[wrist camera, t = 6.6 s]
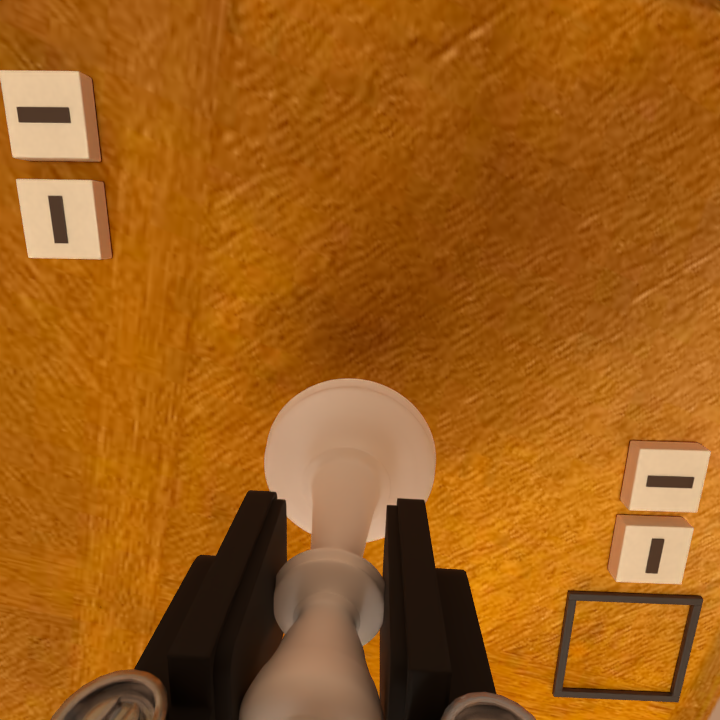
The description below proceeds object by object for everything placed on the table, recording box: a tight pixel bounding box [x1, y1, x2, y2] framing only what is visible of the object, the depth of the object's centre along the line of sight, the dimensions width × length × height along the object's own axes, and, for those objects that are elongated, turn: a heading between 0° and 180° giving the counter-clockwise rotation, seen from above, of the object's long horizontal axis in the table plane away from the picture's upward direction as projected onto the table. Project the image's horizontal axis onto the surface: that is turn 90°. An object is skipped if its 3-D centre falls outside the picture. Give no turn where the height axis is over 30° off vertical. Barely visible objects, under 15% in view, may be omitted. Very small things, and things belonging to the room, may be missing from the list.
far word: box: [553, 441, 711, 702], centre depth 31 cm, size 19×8×1 cm, turn 179°
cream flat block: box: [0, 70, 112, 259], centre depth 25 cm, size 9×4×1 cm, turn 179°
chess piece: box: [239, 378, 436, 720], centre depth 9 cm, size 5×5×10 cm
